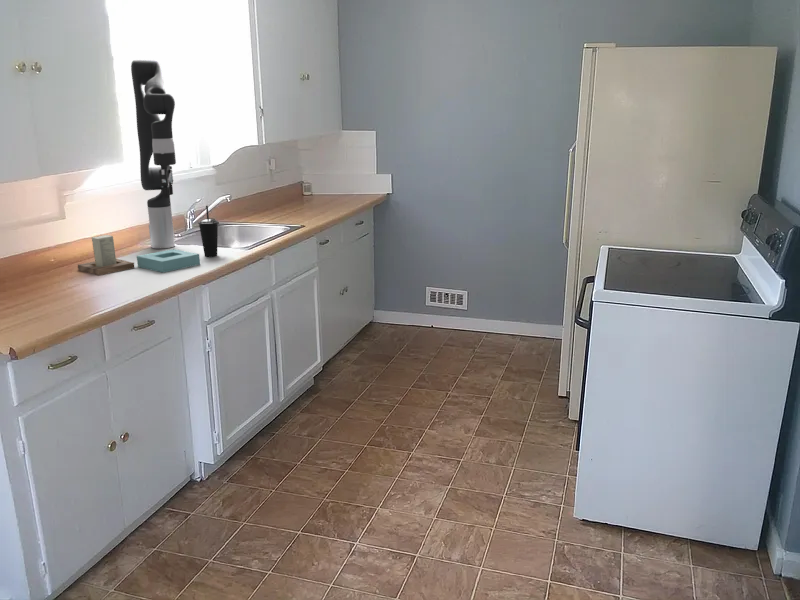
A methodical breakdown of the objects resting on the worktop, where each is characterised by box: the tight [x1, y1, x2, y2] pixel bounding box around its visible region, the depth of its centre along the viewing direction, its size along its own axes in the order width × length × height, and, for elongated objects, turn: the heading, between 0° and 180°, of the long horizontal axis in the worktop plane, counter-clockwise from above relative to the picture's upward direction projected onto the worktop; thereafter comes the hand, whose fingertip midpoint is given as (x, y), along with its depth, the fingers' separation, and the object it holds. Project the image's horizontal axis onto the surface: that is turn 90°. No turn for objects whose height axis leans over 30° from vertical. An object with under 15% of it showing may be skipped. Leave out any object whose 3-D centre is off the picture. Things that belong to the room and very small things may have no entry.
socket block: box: [136, 248, 201, 273], centre depth 261 cm, size 16×16×4 cm
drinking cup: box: [197, 205, 219, 258], centre depth 274 cm, size 8×8×20 cm
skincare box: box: [91, 234, 117, 267], centre depth 255 cm, size 6×4×12 cm
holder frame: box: [77, 258, 135, 276], centre depth 256 cm, size 14×14×2 cm
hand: (168, 196), depth 257 cm, fingers open, 8 cm apart
